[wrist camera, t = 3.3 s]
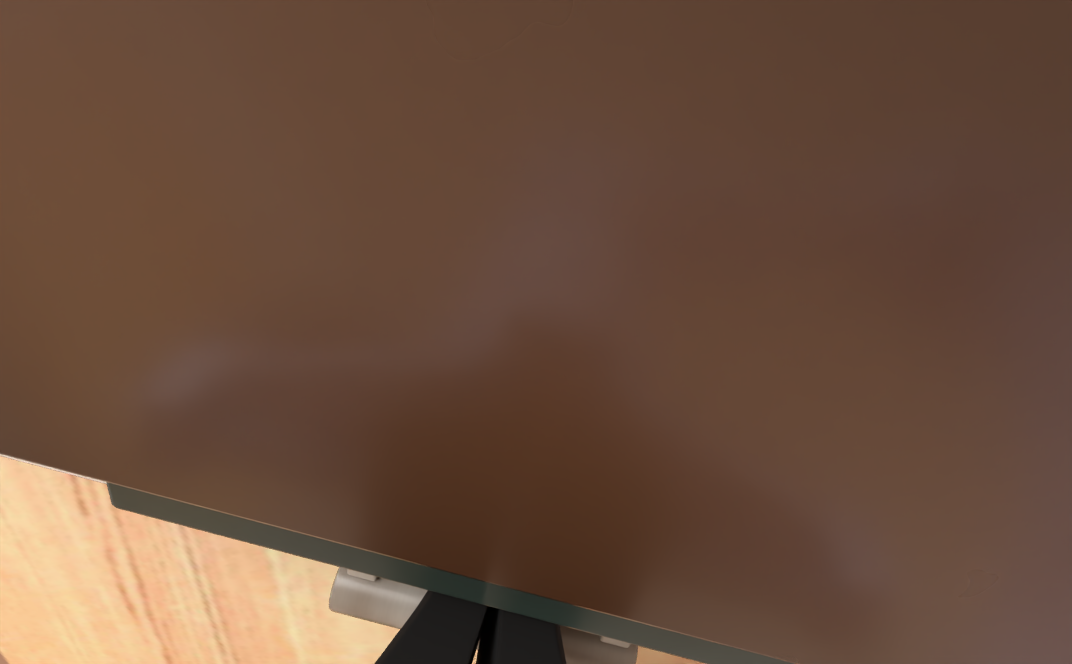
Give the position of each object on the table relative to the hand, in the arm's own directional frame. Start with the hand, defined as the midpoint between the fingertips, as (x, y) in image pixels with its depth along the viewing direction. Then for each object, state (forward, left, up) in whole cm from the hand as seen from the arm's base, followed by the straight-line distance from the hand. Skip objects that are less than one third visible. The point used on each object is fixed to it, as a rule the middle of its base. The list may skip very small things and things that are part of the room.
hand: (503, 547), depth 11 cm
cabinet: (+9, -5, -5) cm, 12 cm away
